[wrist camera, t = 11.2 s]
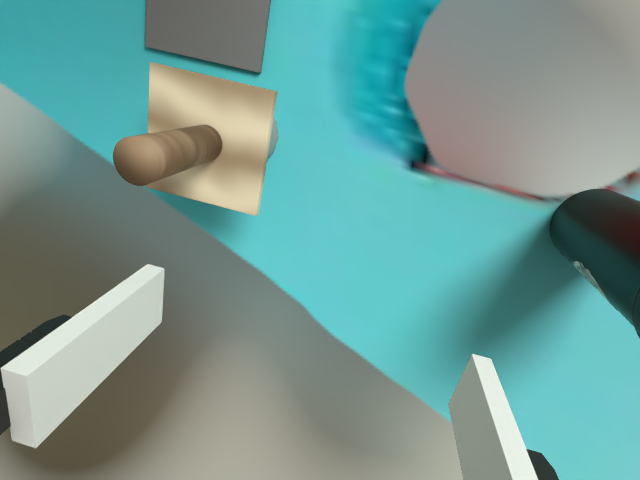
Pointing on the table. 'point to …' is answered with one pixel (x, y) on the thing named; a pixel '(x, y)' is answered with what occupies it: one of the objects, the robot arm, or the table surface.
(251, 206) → the lid
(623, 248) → the water bottle
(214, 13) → the mat
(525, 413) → the table surface
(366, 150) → the table surface
